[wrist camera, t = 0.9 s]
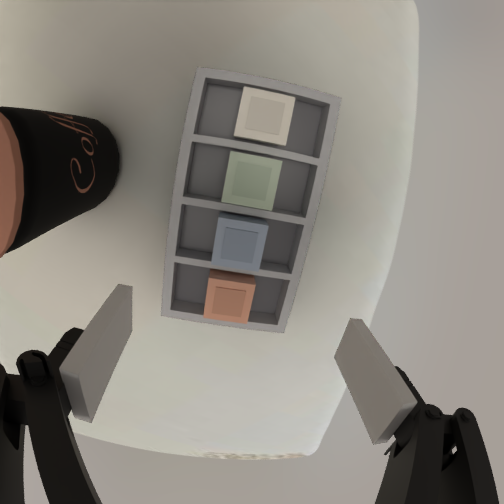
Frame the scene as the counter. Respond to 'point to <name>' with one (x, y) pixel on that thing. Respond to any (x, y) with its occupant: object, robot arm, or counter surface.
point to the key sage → (251, 180)
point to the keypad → (209, 205)
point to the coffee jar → (50, 171)
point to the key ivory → (264, 116)
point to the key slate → (239, 241)
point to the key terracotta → (229, 296)
